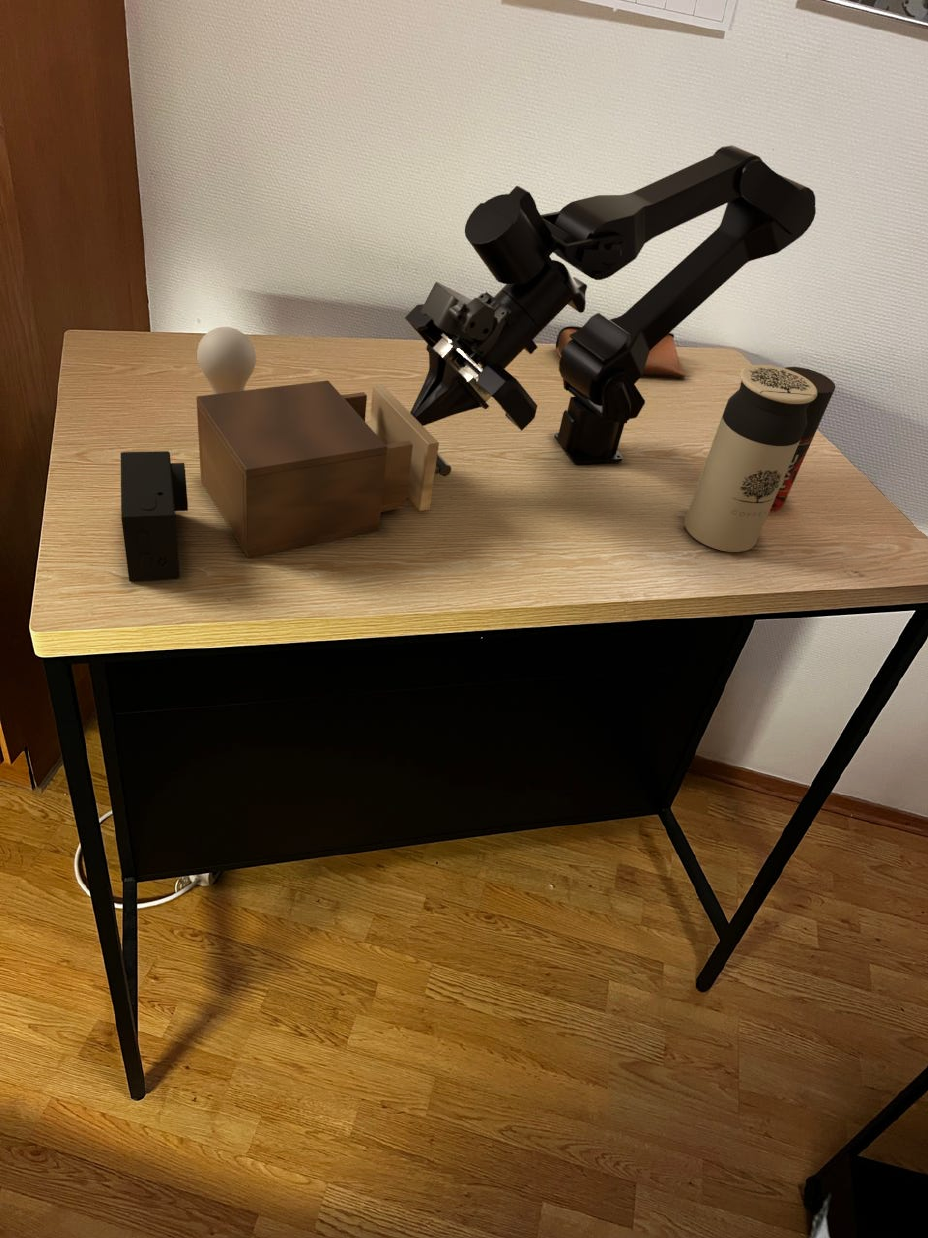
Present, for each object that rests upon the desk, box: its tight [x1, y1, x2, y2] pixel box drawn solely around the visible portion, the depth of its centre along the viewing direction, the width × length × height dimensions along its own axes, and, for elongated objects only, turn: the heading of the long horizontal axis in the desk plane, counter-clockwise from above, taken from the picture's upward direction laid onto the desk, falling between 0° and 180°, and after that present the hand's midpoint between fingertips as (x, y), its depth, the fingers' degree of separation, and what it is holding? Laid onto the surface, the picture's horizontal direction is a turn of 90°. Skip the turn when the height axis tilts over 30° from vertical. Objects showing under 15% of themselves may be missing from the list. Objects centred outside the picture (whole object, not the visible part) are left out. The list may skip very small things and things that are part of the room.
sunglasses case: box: [555, 325, 686, 378], centre depth 128 cm, size 18×7×7 cm, turn 102°
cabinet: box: [195, 380, 387, 559], centre depth 88 cm, size 14×14×10 cm
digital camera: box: [120, 450, 189, 582], centre depth 81 cm, size 10×5×7 cm, turn 17°
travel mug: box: [683, 364, 817, 553], centre depth 93 cm, size 8×8×18 cm
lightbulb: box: [196, 326, 257, 395], centre depth 98 cm, size 6×6×11 cm
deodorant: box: [769, 366, 836, 513], centre depth 101 cm, size 6×6×15 cm
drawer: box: [341, 384, 452, 513], centre depth 92 cm, size 17×12×8 cm
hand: (410, 424), depth 92 cm, fingers closed, pressing on drawer
